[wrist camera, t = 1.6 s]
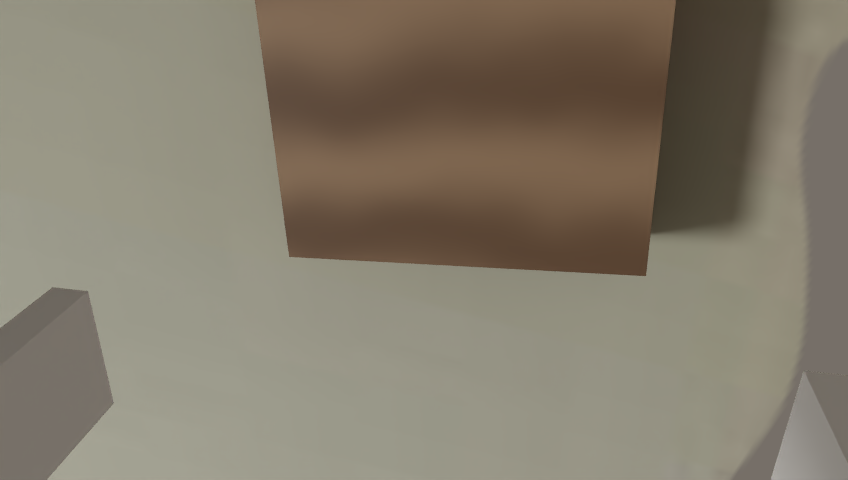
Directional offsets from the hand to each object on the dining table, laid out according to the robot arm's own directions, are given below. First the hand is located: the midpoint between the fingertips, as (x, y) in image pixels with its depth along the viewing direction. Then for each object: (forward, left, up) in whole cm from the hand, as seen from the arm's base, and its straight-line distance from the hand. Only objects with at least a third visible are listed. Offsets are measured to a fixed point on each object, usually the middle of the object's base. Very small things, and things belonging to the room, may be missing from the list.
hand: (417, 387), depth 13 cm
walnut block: (-1, -2, -22) cm, 22 cm away
